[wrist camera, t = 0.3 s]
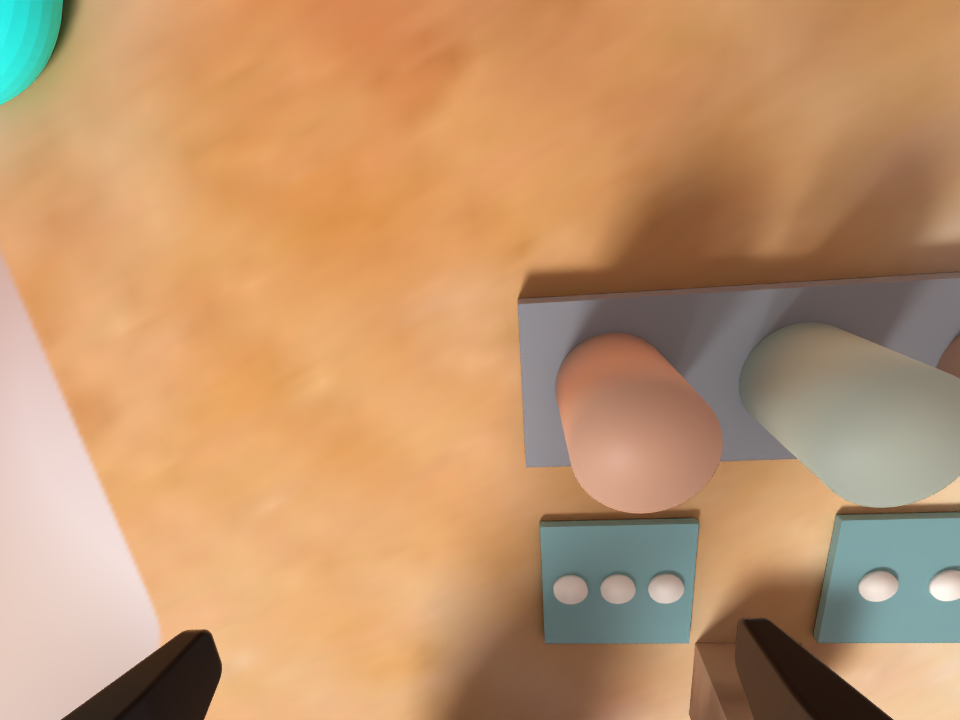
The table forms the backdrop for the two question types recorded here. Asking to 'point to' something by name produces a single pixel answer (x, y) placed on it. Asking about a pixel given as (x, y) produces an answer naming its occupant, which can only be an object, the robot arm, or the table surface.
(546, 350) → the board
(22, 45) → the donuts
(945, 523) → the pad two
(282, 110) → the table surface
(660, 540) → the pad three
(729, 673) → the brown cube
